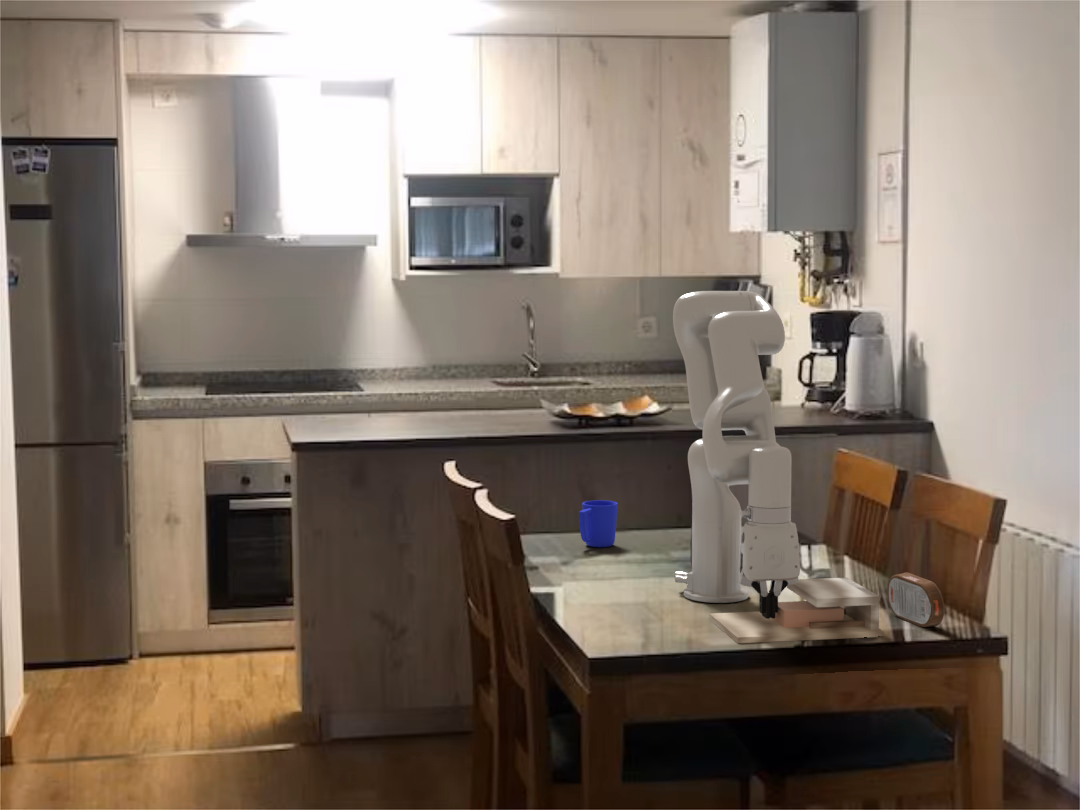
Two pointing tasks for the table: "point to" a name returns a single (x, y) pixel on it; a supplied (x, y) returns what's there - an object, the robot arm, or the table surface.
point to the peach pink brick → (805, 614)
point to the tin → (915, 600)
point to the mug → (598, 522)
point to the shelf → (820, 593)
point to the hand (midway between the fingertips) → (768, 616)
